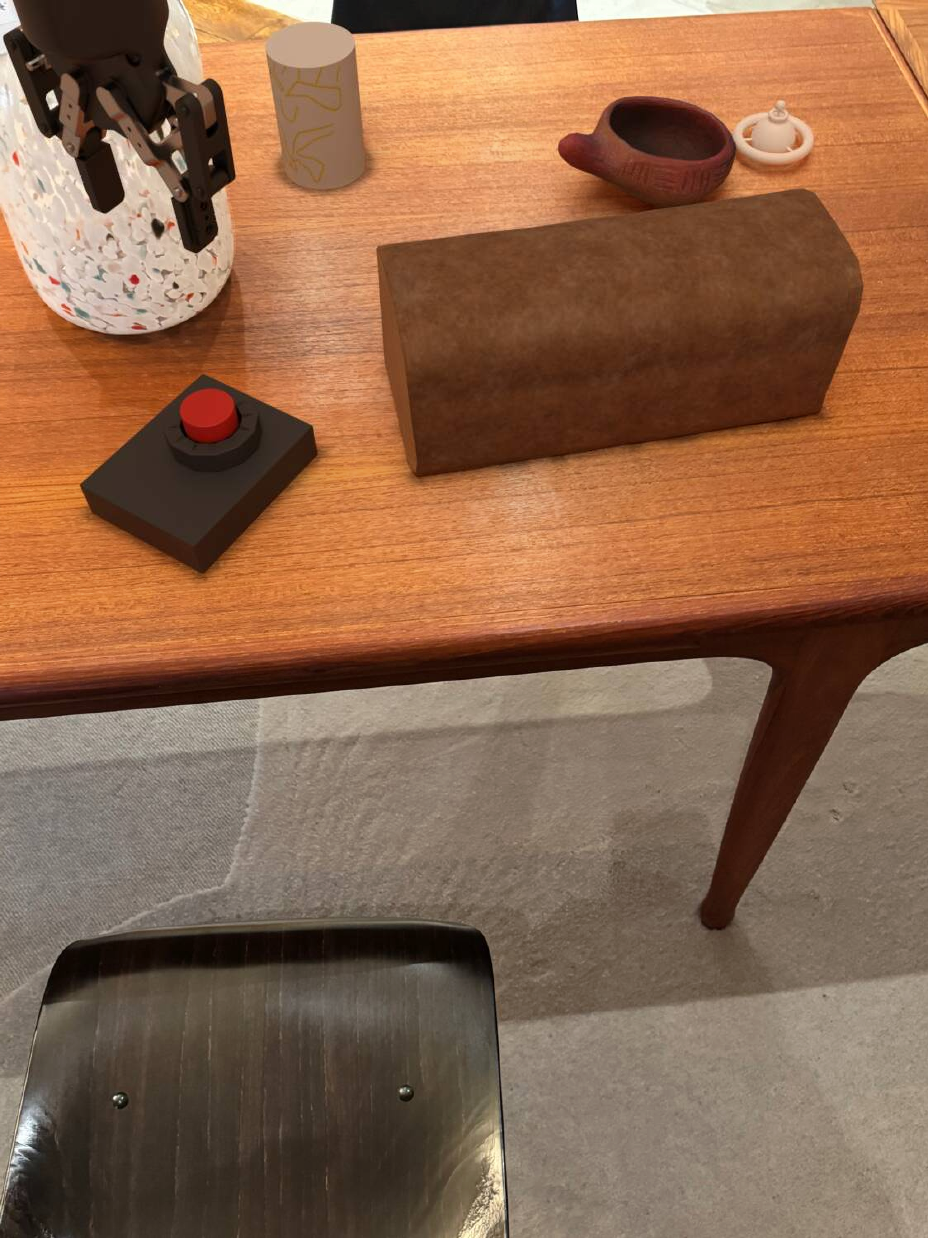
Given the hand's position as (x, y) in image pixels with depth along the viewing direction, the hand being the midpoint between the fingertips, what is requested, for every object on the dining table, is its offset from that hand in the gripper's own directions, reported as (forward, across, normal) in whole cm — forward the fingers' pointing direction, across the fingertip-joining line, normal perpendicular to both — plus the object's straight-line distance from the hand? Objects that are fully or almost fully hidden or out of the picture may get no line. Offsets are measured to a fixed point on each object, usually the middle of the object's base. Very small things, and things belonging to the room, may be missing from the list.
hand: (155, 224), depth 65 cm
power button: (+17, 0, 0) cm, 17 cm away
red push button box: (+22, 0, -2) cm, 22 cm away
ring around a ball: (+22, +19, +62) cm, 69 cm away
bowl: (+22, +12, +49) cm, 55 cm away
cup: (+22, -18, +37) cm, 47 cm away
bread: (+22, +21, +23) cm, 38 cm away
